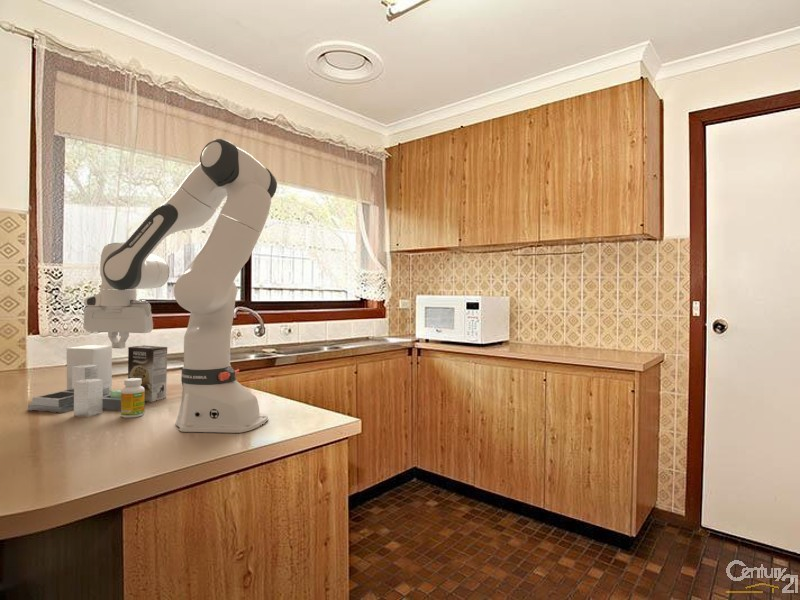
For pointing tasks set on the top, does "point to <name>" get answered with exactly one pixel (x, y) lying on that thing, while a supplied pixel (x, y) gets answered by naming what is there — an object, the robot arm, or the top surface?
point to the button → (115, 394)
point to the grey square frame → (111, 403)
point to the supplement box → (91, 362)
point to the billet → (88, 397)
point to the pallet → (66, 392)
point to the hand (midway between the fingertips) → (118, 348)
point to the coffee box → (149, 369)
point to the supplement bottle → (132, 398)
